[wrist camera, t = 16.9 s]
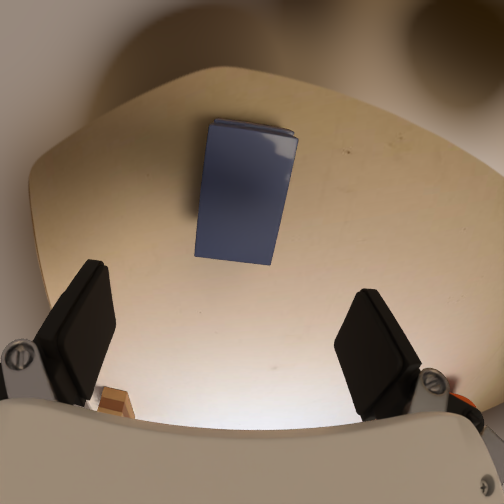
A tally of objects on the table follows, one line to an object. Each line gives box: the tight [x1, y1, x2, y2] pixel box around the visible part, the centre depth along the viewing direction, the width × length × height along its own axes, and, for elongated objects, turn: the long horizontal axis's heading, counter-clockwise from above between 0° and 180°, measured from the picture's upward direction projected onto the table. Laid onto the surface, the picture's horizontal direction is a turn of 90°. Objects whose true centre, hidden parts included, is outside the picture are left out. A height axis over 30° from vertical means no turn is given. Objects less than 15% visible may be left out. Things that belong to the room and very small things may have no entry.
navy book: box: [194, 122, 298, 265], centre depth 21 cm, size 10×6×2 cm, turn 170°
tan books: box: [97, 387, 135, 419], centre depth 41 cm, size 10×4×9 cm, turn 170°
